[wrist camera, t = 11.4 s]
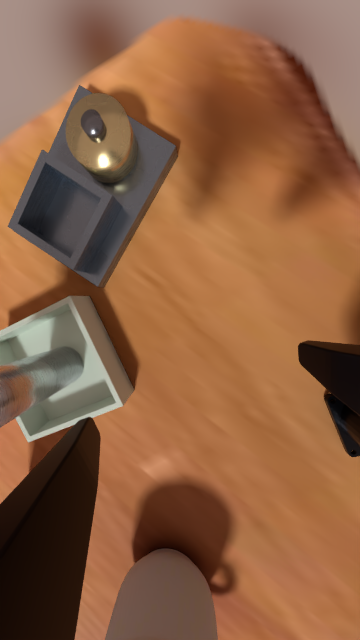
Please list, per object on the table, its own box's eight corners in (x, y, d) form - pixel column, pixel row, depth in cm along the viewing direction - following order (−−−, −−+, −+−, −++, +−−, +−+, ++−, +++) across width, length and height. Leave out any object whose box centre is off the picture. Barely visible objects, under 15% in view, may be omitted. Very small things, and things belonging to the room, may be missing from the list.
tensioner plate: (177, 156, 17) (171, 113, 13) (104, 287, 19) (79, 284, 15) (87, 99, 17) (54, 40, 13) (24, 234, 19) (-20, 218, 15)
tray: (134, 390, 20) (123, 405, 17) (51, 422, 22) (28, 442, 19) (89, 296, 19) (69, 295, 16) (7, 336, 21) (-25, 343, 18)
